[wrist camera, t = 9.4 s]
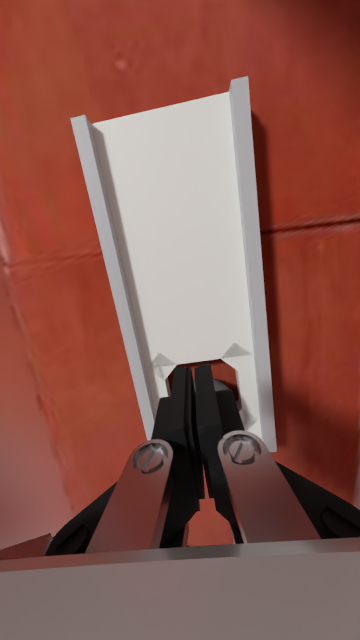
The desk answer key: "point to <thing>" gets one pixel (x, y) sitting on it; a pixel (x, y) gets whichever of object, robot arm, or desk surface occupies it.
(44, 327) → the desk surface
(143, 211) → the tray
